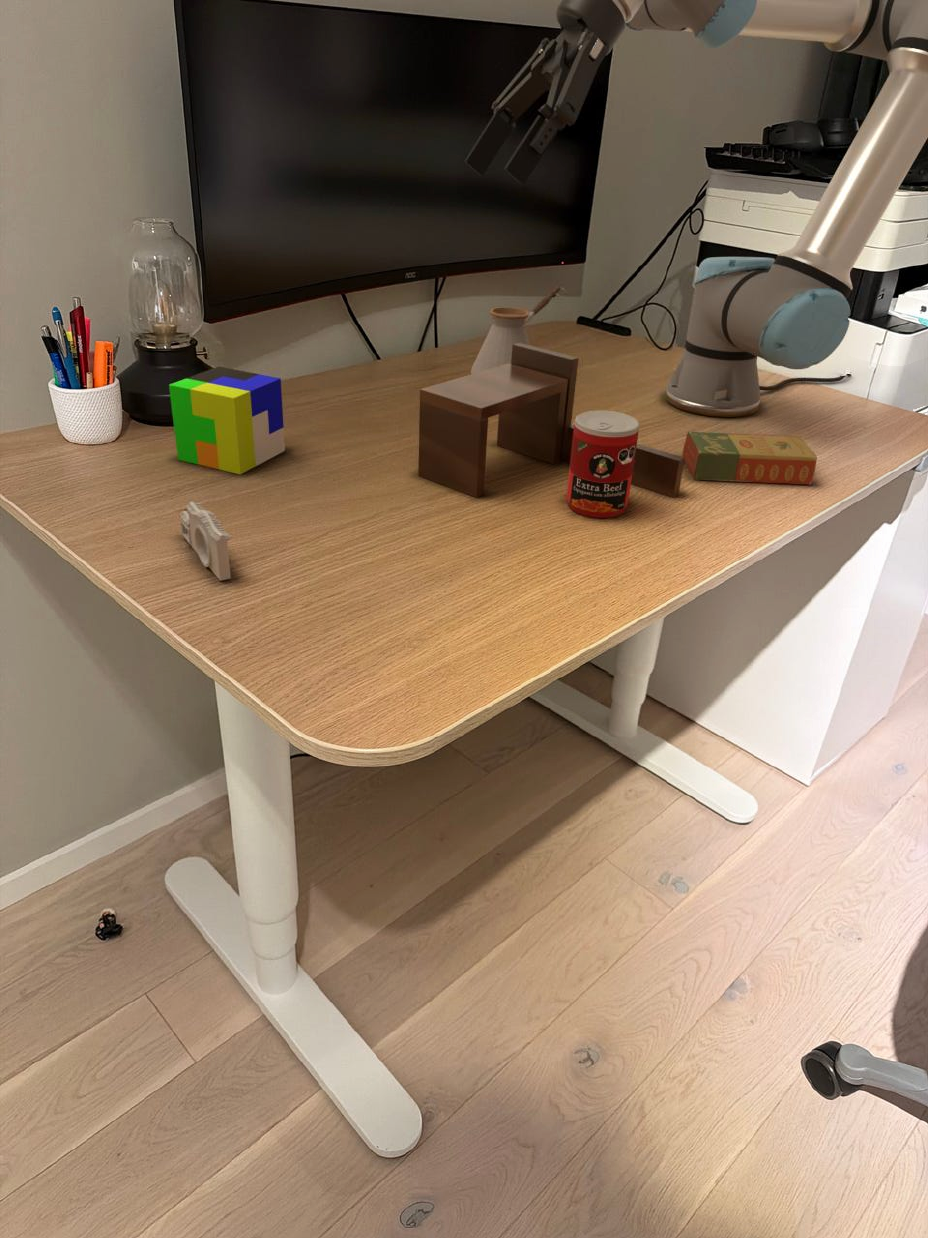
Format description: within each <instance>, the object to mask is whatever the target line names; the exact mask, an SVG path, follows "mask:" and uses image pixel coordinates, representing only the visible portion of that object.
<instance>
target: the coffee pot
mask: <svg viewBox="0 0 928 1238" xmlns="http://www.w3.org/2000/svg"><path fill="white" fill-rule="evenodd" d="M561 290H563V292H564V295H560V294H558V293H559V292H560V291H561ZM566 294H567V291H566V290H565V289H564V288H563V287H562V286H561V285H560V284H559V285H557V286H556V287H554V288H553V290H550V291H549V292H548V294H547V295H545V296H544V297H542V299H540V301H539V302H537V304H536V305H535V306H534V307H533V308H532V309H531V311H530V312H529V310H526V309H523V308H520V307H519V308H517V307H511V306H509V307H508V306H503V307H502V306H499V307H493V308H491V309H490V310H489V311H488V312H489V314H490V316H491V317H492V318H491V319H492V325H491V327H490V329H489V331H488V333H487V335H486V337H485V340H484V341H483V344H482V346H481V348H480V350H479V352H478V353H477V356H476V359H475V360H474V362H473V364H472V366H471V369H470V375H471V374H474V373H478V372H481V371H484V370H488V369H491V368H495V367H498V366H502V365H505V364H508V363H509V364H511V358H512V345H513V344H516V343H522V344H526V345H530V346H531V344H530V343H531V342H530V339H529V337H528V334H527V330H526V328H525V325H526V324H527V323H528V322H529V321H530V320H531V319H532V318H533V317H534V316H535V315H537V314H538V313H539V312H540V311H541V310H543V309H544V308H545V307H546V306H547V305H549V303H550V302H551V300H552V299H553V298H555V297H559V298H564V297H565V296H566Z"/></svg>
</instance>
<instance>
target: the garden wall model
mask: <svg viewBox="0 0 928 1238" xmlns="http://www.w3.org/2000/svg"><path fill="white" fill-rule="evenodd" d="M185 509H186V510H184V511H182V512H181V513H179V514H178V517H179V518H180V519H181V520H179V521H180V529H181V535H182V536H183V538H184V539H185V541H186V542H188V544H189V545H190V546H191V549H193V550H194V551H195V553H196V554H197V555H198V557H199V560H200V562H201V564H202V565H203V566H204V567H205V568H209V569H210V571H211V572H212V573H213V574H214V575H215V576H216V578H217V579H218V580H219V581H220V582H221V581H225V580H230V579H232V577H231V566H230V557H229V545H228V541H230V540H231V538H232V535H231V534H229V533H228V532H227V531H226V530H225V528H224V527H223V525H222V524H221V523H222V522H221V521H220V520H219V519H218V517H217V516H216V514H214V512H212V511H211V510H206V509H205V508H204V506H203V505H202V503H199V502H194V501H189V504H188V505H186V506H185Z"/></svg>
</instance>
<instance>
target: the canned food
mask: <svg viewBox="0 0 928 1238" xmlns="http://www.w3.org/2000/svg"><path fill="white" fill-rule="evenodd" d="M573 425H574V431H573V440H572V450H571V459H570V463H569V469H568V478H567V479H568V480H567V487H566V496H565V497H566V503H567V506H568V507H569V509H570V510H571V511H573V512H574V513H576V514H578V515H581V516H585V517H588V518H595V519H606V518H614V517H616V516H619V515H621V514H622V513H624V512H625V510H626V509H627V506H628V504H629V498H630V492H631V486H632V484H631V480H632V473H633V467H634V460H635V454H636V447H637V444H638V439H639V432H640V422H639V420H638V419H637V418H635V417H633V416H631V415H629V414H626V413H623V412H619V411H612V410H589V411H584V412H581V413H579V414H578V415H576V417H575V420H574V423H573Z"/></svg>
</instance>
